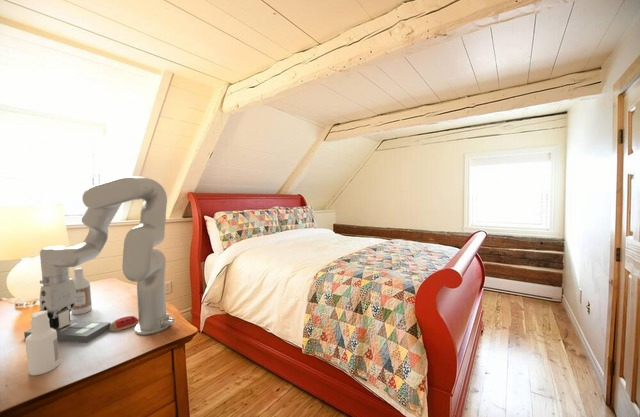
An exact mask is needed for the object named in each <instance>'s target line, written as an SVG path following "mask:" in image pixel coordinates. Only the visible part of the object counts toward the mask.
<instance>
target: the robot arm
mask: <svg viewBox="0 0 640 417" xmlns="http://www.w3.org/2000/svg"><path fill="white" fill-rule="evenodd" d="M81 200H82V204H84V205H85V207H87V210H86V211H85V213H84V215H82V217H81V223H82V224H83V225H84V226H86V227H87V228H88V233H87V235H86V237H85V238H84V240H83V241H82V243H78V244H75V245H72V246H69V247H66V246H65V245H51V246H47V247H43V248H41V250H40V251H39V256H40V257H39V259H40V268H41V280H39V284H41V286H40V291H39V307H40V308H39V311H47V316H48V318H49V324H50V328H58V327H59V320H58V317H57V310H59V309H62V308H66V309H69V320H71V310H72V309H71V308H72V307H73V305H74V304H75V303H76V302H77V301H78V299H77V295H76V289H75V285H74V282H73V278H70V277H71V276H70V268H74V267H77V266H81V265H83V264H85V263H87V262H90V261H92V260H94V259H96V258H97V257H98V256H99V254H101V253H102V251H103V249H104V247H105V245H106V243H107V241H108V238H109V226H110V224H111V223H112V222H113V220H114V218H115V216H116V214H117V213H118V211H119V209H120V207H121V205H122V204H123V203H127V202H130V201H139V200H142V201H143V203H142V206H141V210H140V216H139V217H140V218H139V225H136V226H135V227H133V228H131V229H129V230H128V232H127V233H126V235H125V238H124V241H123V250H122V253H123V254H122V265H121V266H122V267H121V268H122V273H123V275H124V277H125V278H126V279H127V280H129V281H130V282H135V283H136V296H137V297H136V298H137V312H138V319H139V321H138V323H137V324H136V325H135V327H134V332H135V334H136V335H139V336H140V335H141V336H144V335H145V336H146V335H152V334H157V333H160V332H162V331H164V330H166V329H168V328H169V327H170V326H173V325H174V324H175V320H176V318H175V317H170V313H168V312H167V300H166V281H165V280H166V279H165V278H166V277H165V276H166V274H165V273H166V265H167V262H166V261H167V260H166V256H165V254H164V253H163V252H162V251H161V250H159V249H156V248H155V247H157V246H159V245H160V244H162V243H163V241H164V239H165V235H166V233H165V231H166V221H167V220H166V219H167V218H166V217H167V206H168V205H167V204H168V196H167V192H166V190H165V189H164V187H163V186H162V185H161V183H159V182H158V181H157V180H155V179H152V178H149V177H144V176H123V177H121V178H116V179H112V180H110V181H106V182H103V183H99V184H95V185H92V186H89V187H88V188H87V189H86V190H85V191H84V192H83V194H82V199H81Z"/></svg>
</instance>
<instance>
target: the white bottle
mask: <svg viewBox="0 0 640 417" xmlns="http://www.w3.org/2000/svg"><path fill="white" fill-rule="evenodd" d="M30 316H31V321H30V326H31V327H30V329H31V333H32V334H30V335H29V336H28V337H27V338H26V339H25V338H24V340H25V352H26V361H27V369H28V370H27V371H28V374H29V375H30V376H39V375H44V374H46V373H49V372H51V371H54V370H55V369H56V368H57V367H58V366H59V365H60V356H59V354H60V353H59V346H58V345H59V343H58V342H59V341H57V332H56V330H55V329H50V324H49V318H48V316H47V311H40V310H39V311H36V312H34V313H32V314H31V315H30Z"/></svg>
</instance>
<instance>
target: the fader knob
mask: <svg viewBox="0 0 640 417" xmlns="http://www.w3.org/2000/svg"><path fill="white" fill-rule="evenodd" d="M57 317H58V320H59V327H58V328H62V327H64V326H66V325H68V324H70V320H71V319H70V320H69V309H66V308H62V309H59V310H57Z"/></svg>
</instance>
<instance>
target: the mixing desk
mask: <svg viewBox="0 0 640 417" xmlns="http://www.w3.org/2000/svg"><path fill="white" fill-rule="evenodd" d="M111 324H112V322H108V321H93V320H91V321H90V320H76V319H75V320H74V319H73V320H72V319H70V324H68V325H66V326H64V327H62V328H50V329H55V330H56V332H57V342H69V343H71V342H72V343H86V344H87V343H89V342H91V341H92V340H94V339H96V338H98V337H100V336H101V335H103V334H104V333H106V332H108V331H110V330H109V328H110V325H111ZM23 333H24V334H23V336H24V340H25V339H26V338H27V337H28V336H29V335H30V334H32V333H31V328H30V329H28V330H26V331H24V332H23Z"/></svg>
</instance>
